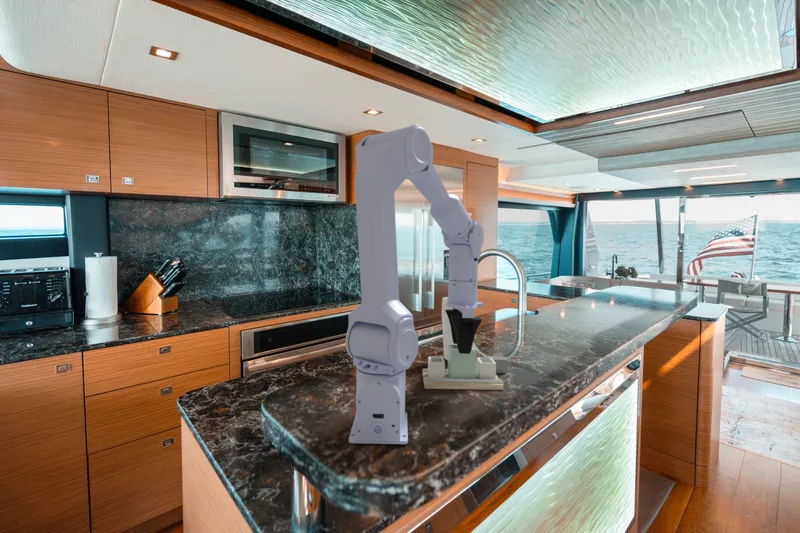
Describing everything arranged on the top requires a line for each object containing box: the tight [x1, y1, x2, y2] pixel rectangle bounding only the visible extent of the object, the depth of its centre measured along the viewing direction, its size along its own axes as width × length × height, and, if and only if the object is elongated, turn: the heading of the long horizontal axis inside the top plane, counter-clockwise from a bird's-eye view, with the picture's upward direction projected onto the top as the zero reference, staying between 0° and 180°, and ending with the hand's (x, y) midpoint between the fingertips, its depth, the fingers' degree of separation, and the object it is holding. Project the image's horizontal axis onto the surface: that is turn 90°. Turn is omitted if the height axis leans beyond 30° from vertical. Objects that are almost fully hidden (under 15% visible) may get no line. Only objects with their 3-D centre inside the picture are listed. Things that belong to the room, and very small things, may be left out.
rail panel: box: [421, 371, 505, 391], centre depth 76 cm, size 8×15×1 cm, turn 90°
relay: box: [485, 355, 508, 374], centre depth 84 cm, size 3×4×3 cm
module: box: [447, 345, 477, 379], centre depth 75 cm, size 4×5×6 cm
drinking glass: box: [441, 296, 457, 362], centre depth 91 cm, size 7×7×15 cm
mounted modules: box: [427, 356, 497, 379], centre depth 76 cm, size 4×13×4 cm, turn 90°
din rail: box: [422, 368, 504, 383], centre depth 76 cm, size 6×15×1 cm, turn 90°
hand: (461, 348), depth 75 cm, fingers open, 7 cm apart
